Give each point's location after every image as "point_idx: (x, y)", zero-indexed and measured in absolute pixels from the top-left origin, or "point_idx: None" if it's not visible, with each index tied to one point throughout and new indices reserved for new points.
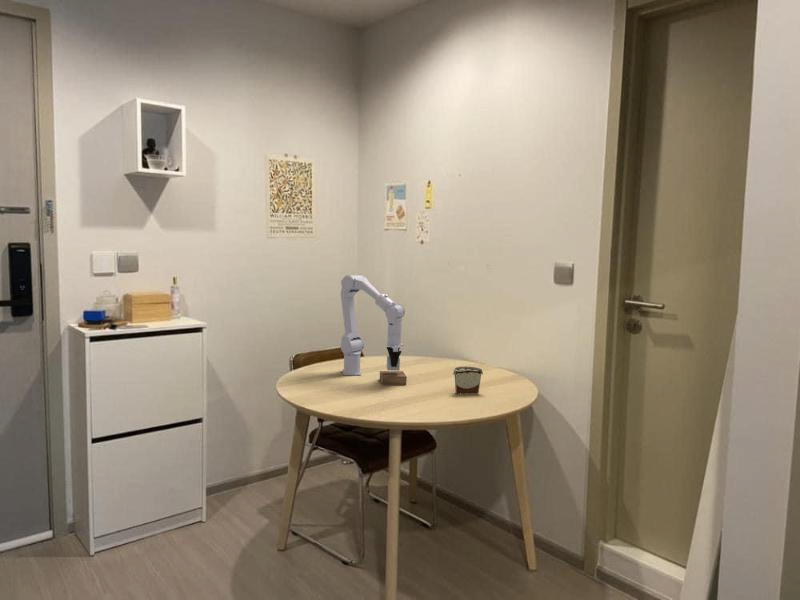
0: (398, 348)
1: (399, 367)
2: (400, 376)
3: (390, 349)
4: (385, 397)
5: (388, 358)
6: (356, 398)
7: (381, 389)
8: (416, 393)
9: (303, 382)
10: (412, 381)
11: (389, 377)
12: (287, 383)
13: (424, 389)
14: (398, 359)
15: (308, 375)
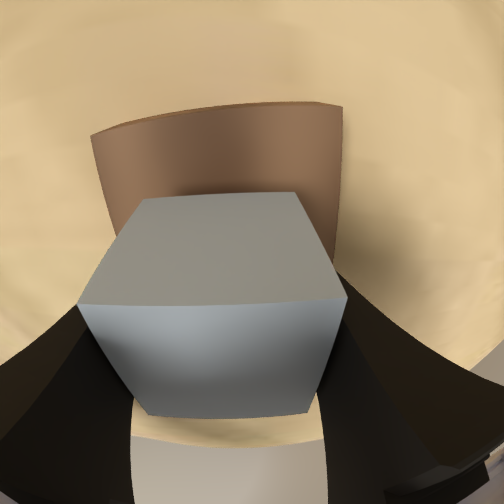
0: (16, 465)
1: (303, 209)
2: (335, 168)
3: (112, 486)
4: (487, 255)
5: (297, 411)
6: (454, 333)
7: (395, 270)
8: (484, 105)
9: (256, 435)
10: (188, 40)
11: (331, 258)
12: (267, 444)
13: (423, 21)
14: (335, 308)
15: (176, 432)
